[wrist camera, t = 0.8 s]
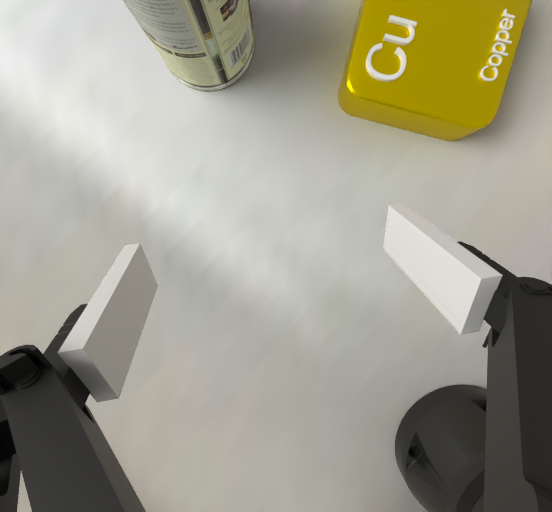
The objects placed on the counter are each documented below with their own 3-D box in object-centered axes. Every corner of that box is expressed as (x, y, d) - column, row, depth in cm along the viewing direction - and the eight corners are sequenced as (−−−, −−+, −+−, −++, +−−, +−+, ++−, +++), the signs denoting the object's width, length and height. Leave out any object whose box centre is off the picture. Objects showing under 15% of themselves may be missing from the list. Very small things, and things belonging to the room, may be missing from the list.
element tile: (463, 147, 31) (496, 131, 26) (332, 112, 31) (342, 90, 26) (505, 6, 30) (548, -36, 25) (369, -31, 30) (387, -81, 25)
